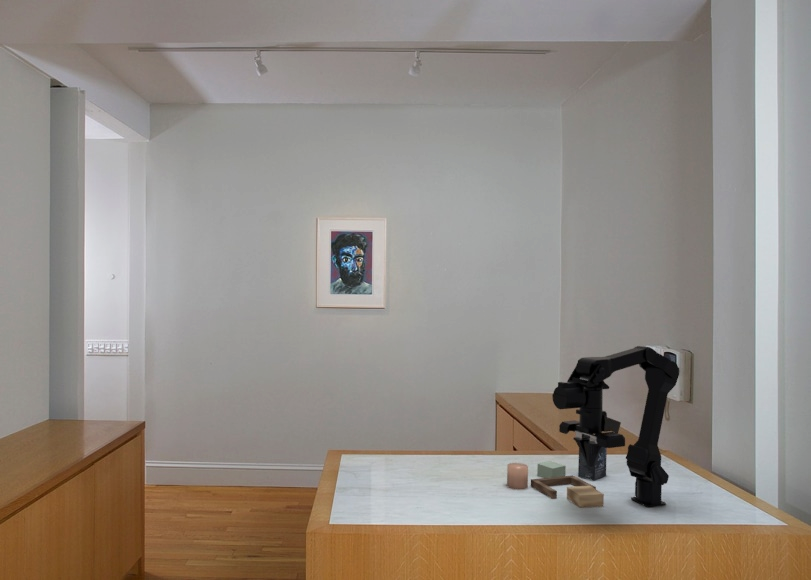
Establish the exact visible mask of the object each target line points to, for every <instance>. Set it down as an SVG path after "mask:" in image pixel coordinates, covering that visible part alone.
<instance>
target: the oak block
mask: <svg viewBox="0 0 811 580" xmlns="http://www.w3.org/2000/svg"><path fill="white" fill-rule="evenodd" d="M604 495H605V494H604V493H603V492H601V491H600V490H598V489H597V488H596V489H595V488H593V487H591V486H567V487H566V499H567V500H569V501H570V502H571V503H573V504H574V505H575V506H576V507H579V508H580V509H581V508H593V507H594V508H595V507H596V508H597V506H598V508H599V507H604V506H605V505H604V503H605V502H604V501H605V499H604Z"/></svg>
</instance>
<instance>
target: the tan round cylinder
mask: <svg viewBox="0 0 811 580" xmlns="http://www.w3.org/2000/svg"><path fill="white" fill-rule="evenodd" d="M506 468H507V469H506V471H507V473H506V475H507V476H506V486H507V488H509V489H513V490H520V491H521V490H526V489H529V488H528V487H529V486H528V485H529V465H527V464H525V463H521V462H509V463H508V464H507V467H506Z"/></svg>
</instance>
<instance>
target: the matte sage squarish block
mask: <svg viewBox="0 0 811 580" xmlns="http://www.w3.org/2000/svg"><path fill="white" fill-rule="evenodd" d="M536 471H537V474H536V475H537V477H539V478H551V477H561V476H566V465H565V464H561V463H558V462H555V461H552V460H549V461H548V460H547V461H545V462H543V461H542V462H540V463H537V470H536Z"/></svg>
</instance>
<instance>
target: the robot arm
mask: <svg viewBox="0 0 811 580" xmlns="http://www.w3.org/2000/svg"><path fill="white" fill-rule="evenodd" d="M636 365H637V366H639V367H640V368H641V369H642V370H643V371H644V380H645V383H646V386H647V388H648V391H647V395H646V401H645V405H644V410H643V415H642V419H641V425H640V429H639V435H638V439H637V440H636V441H635V443H634V444H629V445H628V446H627V452H626V456H625V460H626V466H627V467H628V470H629V474H630V476H631V477H634V478H635V483H634V485H635V486H634V489H635V490H634V496H631V497H630V499H631V500H632V501H634V502H636V503H638V504H641V505H642V506H644V507H646V508H647V507H648V508H649V507H650V508H651V507H657V506H659V507H660V506H665V505H667V503H666V502H665V501H663V500H662V486H664V485H665V484H668V482H669V477H670V476H669V474H668V473H667V471H666V470H665V469H664V468H663V466H662V455H661V452H660V448H659V440H660V434H661V429H662V424H663V419H664V414H665V410H666V409H665V408H666V403H667V399H668V395H669V393H670V392H671V391H672V390H673V389H674V388H675V386H676V384H677V382H678V379H679V376H680V367H678V363H676V361H673V360H671V359H670V358H668V357H666V356H664V355H662V354H661V353H659V352H657V351H656V350H655V349H653V348H652V347H650V346H643V345H637V346H634V347H633V348H629V349H627V350H626V349H625V350H624V351H619V352H617V353H613V354H610V355H606V356H586V357H581V358H579V359H578V360H577V362H576V365H575V367H574V368H573V371H572V372H571V374H570V376H569V377H568V379H567V382H566V381H559V382H557V386H556V387H555V389H554V390H553V392H552V395H551V396H552V398H551V399H552V402H553V405H554V406H555V407H556V408H557V409H558V410H567V409H568V410H569V409H576V410H575V414H577V415H579V417H578V418H579V421H577V420H567V421H566V420H565V421H561V422H560V424H559V429H558V430H559V431H558V432H559V433H562V434H564V435H567V434H569V433H570V432H573V433H575V436H574V437H573V438H572V439H573V440H574V442H575V443H576V444H577V447H578V449H579V448H580V450H581V452H582V454H583V457H584V459H585V461H586V463H587V465H588V466H589V467H593V466H594V463H595V460H596V458H597V455H598V453H599V451H600V449H601V447H605V448H607V449H613V448H615V449H616V448H621V447H626V437H625V436H624V434H621V433H619V430H620V428H621V424H622V422H621V421H618V420H615V419H613V418H611V417H608V413H607V411H606V410H603V396H604V395H603V391H604V390H609V389H610V386H609V384H607V383H606V382H605V380H606V379H608V378H610V377H612V374H614V373H615V372H617V371H620V370H624V369H627V368H630V367H634V366H636Z"/></svg>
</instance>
